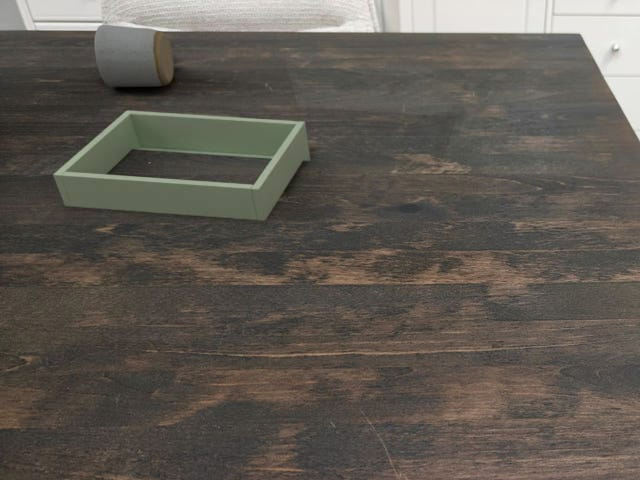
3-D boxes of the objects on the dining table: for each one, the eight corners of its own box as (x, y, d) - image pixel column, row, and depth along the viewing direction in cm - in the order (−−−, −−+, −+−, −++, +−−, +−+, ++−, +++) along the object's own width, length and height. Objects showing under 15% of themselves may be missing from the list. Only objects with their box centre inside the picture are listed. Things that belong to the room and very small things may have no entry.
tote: (69, 217, 75) (52, 174, 72) (138, 150, 87) (126, 110, 84) (267, 232, 74) (258, 189, 71) (310, 161, 86) (305, 121, 82)
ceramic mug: (168, 94, 99) (153, 34, 94) (105, 95, 99) (86, 35, 94) (184, 67, 107) (171, 10, 102) (126, 68, 107) (110, 11, 102)
